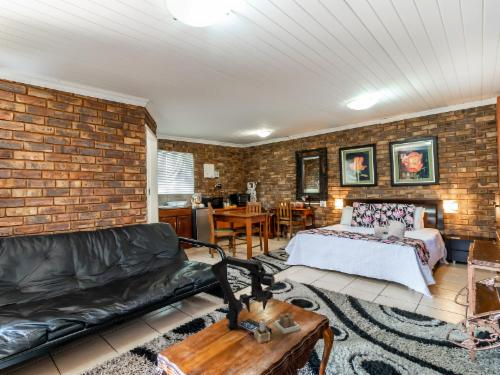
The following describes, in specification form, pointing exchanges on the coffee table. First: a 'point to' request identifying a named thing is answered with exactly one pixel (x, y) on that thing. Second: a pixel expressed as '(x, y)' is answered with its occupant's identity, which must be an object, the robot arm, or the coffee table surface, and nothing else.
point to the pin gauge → (262, 326)
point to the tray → (286, 330)
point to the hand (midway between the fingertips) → (256, 311)
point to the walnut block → (286, 320)
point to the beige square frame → (262, 335)
